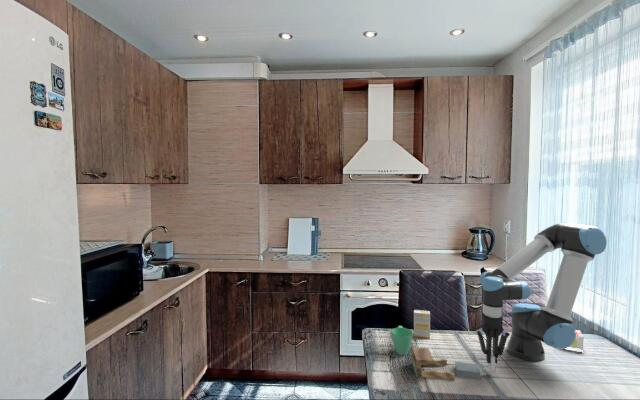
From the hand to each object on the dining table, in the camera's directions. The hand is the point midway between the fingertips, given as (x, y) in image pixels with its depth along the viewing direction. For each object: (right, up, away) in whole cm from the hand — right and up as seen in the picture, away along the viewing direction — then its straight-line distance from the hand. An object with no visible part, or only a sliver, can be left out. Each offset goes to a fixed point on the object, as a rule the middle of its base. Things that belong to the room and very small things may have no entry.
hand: (491, 370), depth 138 cm
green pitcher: (-33, -1, +21) cm, 39 cm away
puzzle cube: (+51, -1, +23) cm, 56 cm away
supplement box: (-18, -1, +37) cm, 41 cm away
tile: (-10, -2, +1) cm, 10 cm away
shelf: (-24, -2, +3) cm, 24 cm away
